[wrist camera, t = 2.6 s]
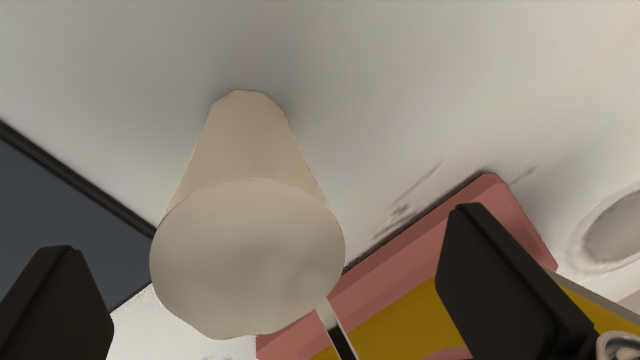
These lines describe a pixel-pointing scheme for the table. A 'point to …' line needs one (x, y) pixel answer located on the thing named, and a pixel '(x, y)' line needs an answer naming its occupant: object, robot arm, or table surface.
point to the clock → (423, 292)
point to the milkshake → (248, 230)
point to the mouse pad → (67, 222)
